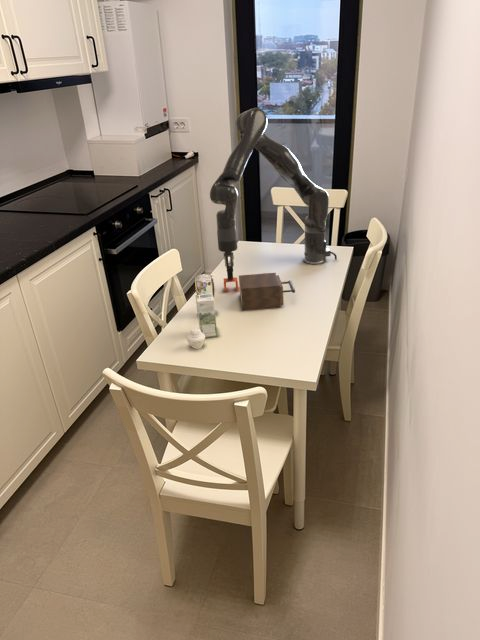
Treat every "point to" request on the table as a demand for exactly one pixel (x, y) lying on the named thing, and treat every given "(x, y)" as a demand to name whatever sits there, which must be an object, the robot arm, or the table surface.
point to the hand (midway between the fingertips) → (230, 278)
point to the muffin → (196, 338)
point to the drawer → (285, 290)
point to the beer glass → (205, 285)
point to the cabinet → (259, 291)
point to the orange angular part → (230, 281)
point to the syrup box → (206, 314)
